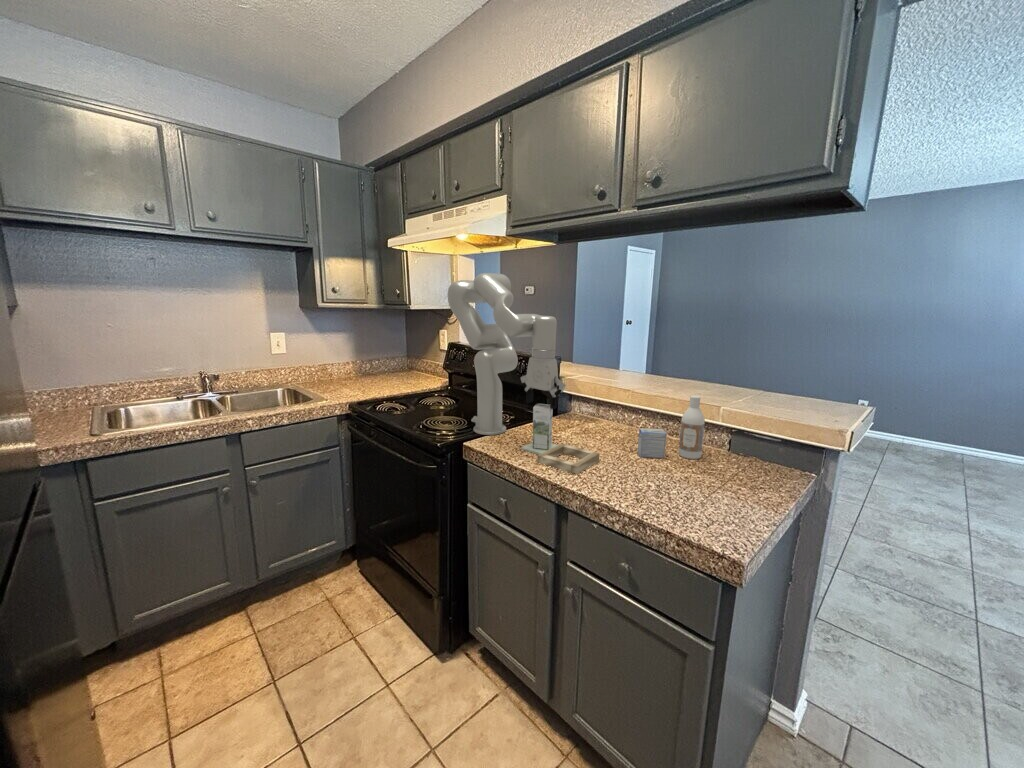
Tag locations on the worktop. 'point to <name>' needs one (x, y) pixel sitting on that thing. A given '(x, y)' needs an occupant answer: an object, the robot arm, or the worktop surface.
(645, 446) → the medicine box
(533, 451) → the sage tile
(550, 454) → the beige flat square frame
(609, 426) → the worktop surface
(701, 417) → the bath foam
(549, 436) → the syrup box
